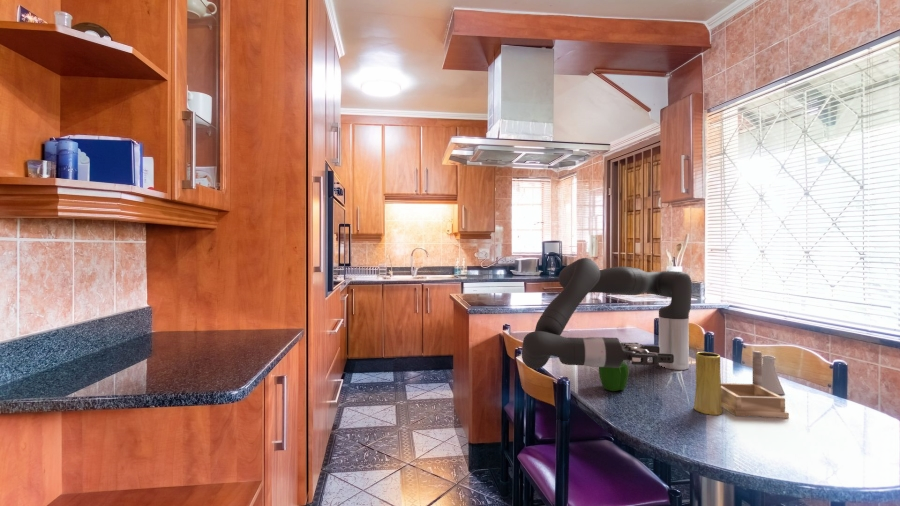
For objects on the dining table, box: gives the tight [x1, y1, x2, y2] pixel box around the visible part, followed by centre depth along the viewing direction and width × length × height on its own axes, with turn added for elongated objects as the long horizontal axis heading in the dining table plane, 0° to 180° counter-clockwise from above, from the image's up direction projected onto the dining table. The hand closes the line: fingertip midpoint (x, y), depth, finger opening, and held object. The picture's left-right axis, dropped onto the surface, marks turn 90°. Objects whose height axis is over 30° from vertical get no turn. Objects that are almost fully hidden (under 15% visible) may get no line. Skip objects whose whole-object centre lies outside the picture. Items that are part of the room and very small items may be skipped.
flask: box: [762, 354, 786, 396], centre depth 119 cm, size 7×7×10 cm
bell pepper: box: [598, 361, 630, 392], centre depth 121 cm, size 8×8×10 cm
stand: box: [721, 350, 790, 419], centre depth 106 cm, size 12×13×13 cm
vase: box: [693, 351, 723, 416], centre depth 104 cm, size 6×6×14 cm
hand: (665, 354), depth 105 cm, fingers open, 8 cm apart
